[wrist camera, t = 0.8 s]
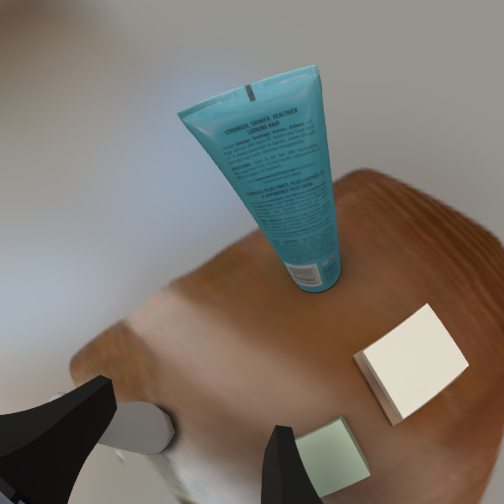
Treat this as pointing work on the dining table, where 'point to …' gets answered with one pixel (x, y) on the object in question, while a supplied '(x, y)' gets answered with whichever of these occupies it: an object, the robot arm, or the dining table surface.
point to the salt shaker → (137, 428)
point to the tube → (278, 166)
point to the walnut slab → (376, 388)
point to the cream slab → (414, 361)
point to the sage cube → (332, 457)
